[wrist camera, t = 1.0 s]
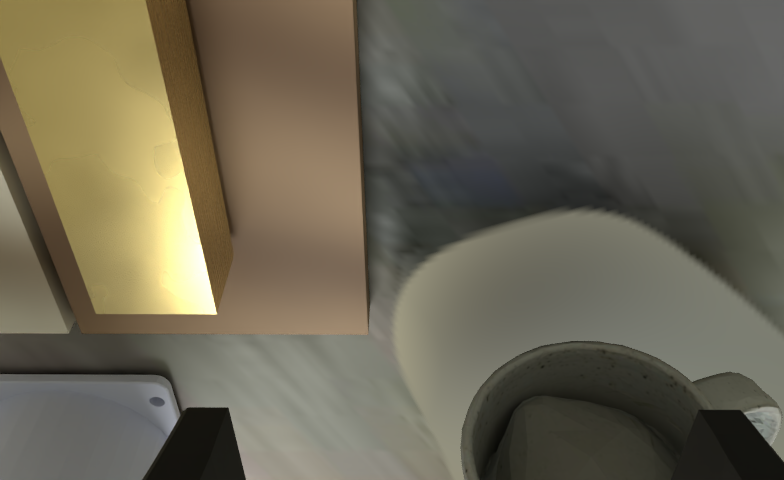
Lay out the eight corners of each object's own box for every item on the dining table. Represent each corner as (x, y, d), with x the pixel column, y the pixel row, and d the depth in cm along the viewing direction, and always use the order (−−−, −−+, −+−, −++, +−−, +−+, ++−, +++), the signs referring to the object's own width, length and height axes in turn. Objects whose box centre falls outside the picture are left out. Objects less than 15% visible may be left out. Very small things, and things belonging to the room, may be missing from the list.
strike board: (369, 307, 23) (364, 397, 20) (-97, 305, 23) (-166, 394, 20) (335, -496, 12) (312, -544, 9) (-565, -478, 12) (-862, -521, 9)
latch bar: (-62, -279, 12) (-171, -265, 10) (149, -282, 12) (87, -269, 10) (113, 254, 20) (74, 334, 17) (245, 254, 20) (223, 335, 17)
